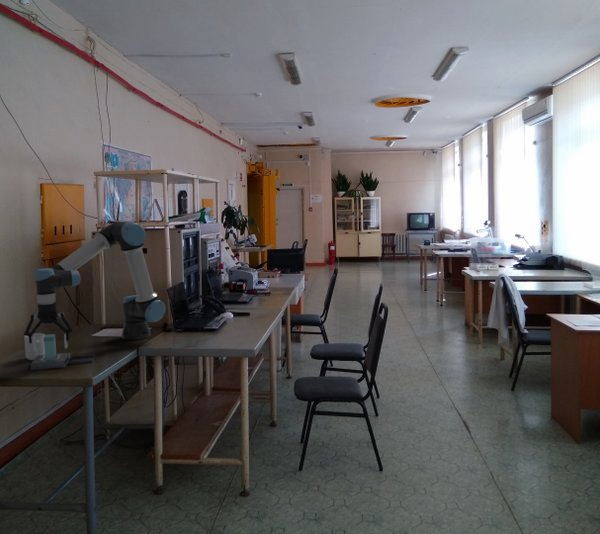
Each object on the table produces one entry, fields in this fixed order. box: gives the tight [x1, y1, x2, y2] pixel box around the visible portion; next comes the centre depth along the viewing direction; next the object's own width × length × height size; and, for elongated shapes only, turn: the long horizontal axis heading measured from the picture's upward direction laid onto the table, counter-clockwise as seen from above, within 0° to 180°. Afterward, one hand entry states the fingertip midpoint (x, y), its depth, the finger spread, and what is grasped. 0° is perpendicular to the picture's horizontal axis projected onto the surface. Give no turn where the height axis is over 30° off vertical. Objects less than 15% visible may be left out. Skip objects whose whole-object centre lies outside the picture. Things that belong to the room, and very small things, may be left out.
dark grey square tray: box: [68, 353, 96, 365], centre depth 255 cm, size 10×10×2 cm
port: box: [30, 352, 71, 371], centre depth 250 cm, size 14×14×4 cm
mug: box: [23, 332, 46, 361], centre depth 261 cm, size 12×9×11 cm
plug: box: [44, 333, 57, 360], centre depth 249 cm, size 4×4×14 cm
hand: (50, 348), depth 249 cm, fingers open, 13 cm apart
